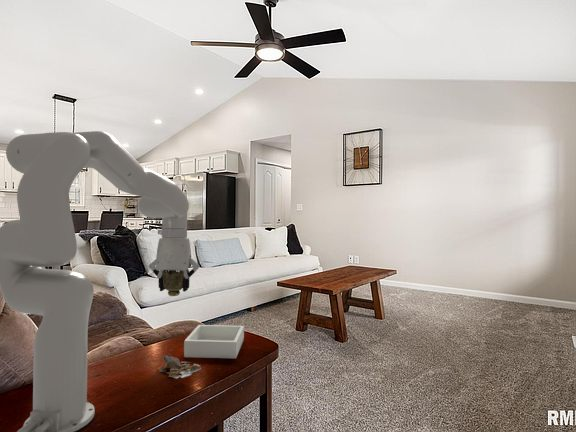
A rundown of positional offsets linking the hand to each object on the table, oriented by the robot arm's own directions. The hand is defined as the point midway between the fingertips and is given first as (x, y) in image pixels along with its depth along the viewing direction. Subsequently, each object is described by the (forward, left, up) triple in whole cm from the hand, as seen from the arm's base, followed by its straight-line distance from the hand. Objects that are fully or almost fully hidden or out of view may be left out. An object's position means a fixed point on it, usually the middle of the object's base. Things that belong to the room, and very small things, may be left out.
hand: (173, 290), depth 113 cm
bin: (+4, -13, -20) cm, 24 cm away
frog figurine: (-13, -5, -20) cm, 25 cm away
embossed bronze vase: (0, 0, -2) cm, 2 cm away
